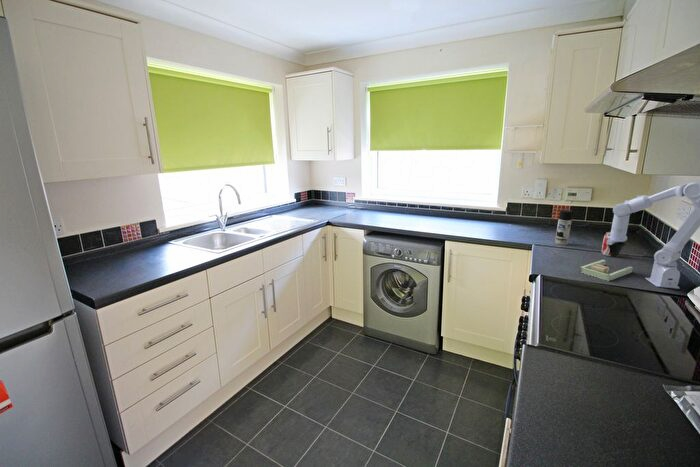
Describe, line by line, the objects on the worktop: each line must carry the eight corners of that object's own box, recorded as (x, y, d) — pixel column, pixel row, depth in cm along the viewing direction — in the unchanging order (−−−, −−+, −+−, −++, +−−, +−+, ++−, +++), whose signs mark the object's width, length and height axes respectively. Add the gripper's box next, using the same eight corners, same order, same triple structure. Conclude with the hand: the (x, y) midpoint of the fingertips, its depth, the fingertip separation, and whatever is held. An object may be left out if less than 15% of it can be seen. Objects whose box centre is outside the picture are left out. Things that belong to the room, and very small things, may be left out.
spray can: (552, 243, 205) (557, 210, 200) (557, 241, 209) (562, 209, 204) (564, 246, 200) (570, 212, 195) (569, 243, 204) (575, 211, 199)
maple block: (595, 272, 161) (597, 264, 160) (607, 275, 156) (609, 267, 155) (589, 274, 158) (591, 266, 157) (602, 277, 154) (603, 269, 153)
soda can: (609, 257, 180) (613, 235, 177) (597, 253, 187) (601, 232, 184) (620, 256, 181) (624, 234, 178) (608, 252, 188) (612, 231, 185)
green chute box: (602, 264, 170) (603, 259, 169) (631, 272, 160) (632, 267, 159) (578, 272, 160) (579, 267, 159) (608, 281, 150) (609, 275, 149)
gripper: (617, 225, 164) (611, 252, 167) (601, 229, 157) (596, 257, 160) (634, 228, 158) (628, 256, 161) (619, 232, 151) (613, 261, 154)
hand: (613, 257), depth 161 cm, fingers closed
